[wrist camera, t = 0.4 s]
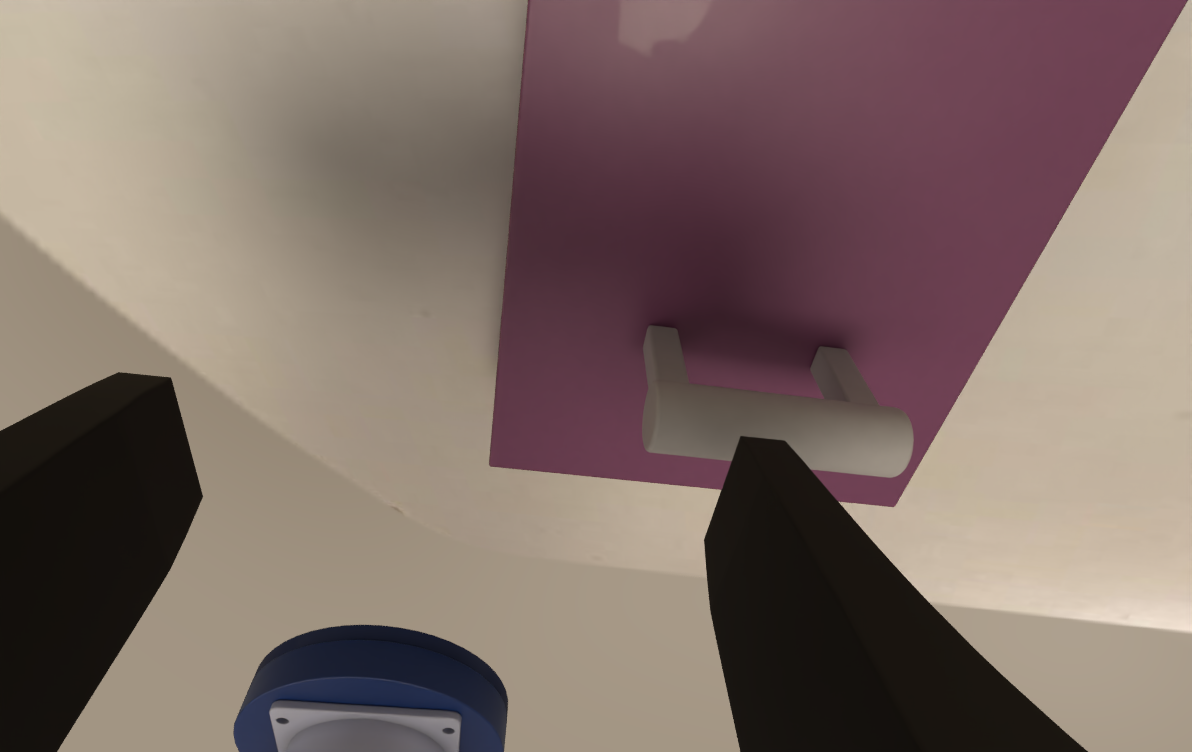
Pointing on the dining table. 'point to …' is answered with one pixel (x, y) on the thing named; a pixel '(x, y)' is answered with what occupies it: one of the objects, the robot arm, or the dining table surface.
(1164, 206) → the dining table surface
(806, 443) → the lid
